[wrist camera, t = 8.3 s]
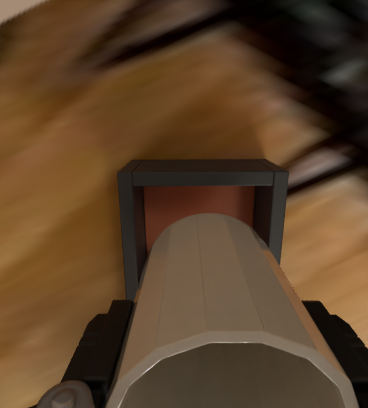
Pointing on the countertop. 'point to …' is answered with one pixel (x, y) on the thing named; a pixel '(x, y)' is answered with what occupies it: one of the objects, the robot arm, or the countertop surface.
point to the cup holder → (196, 202)
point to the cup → (222, 328)
